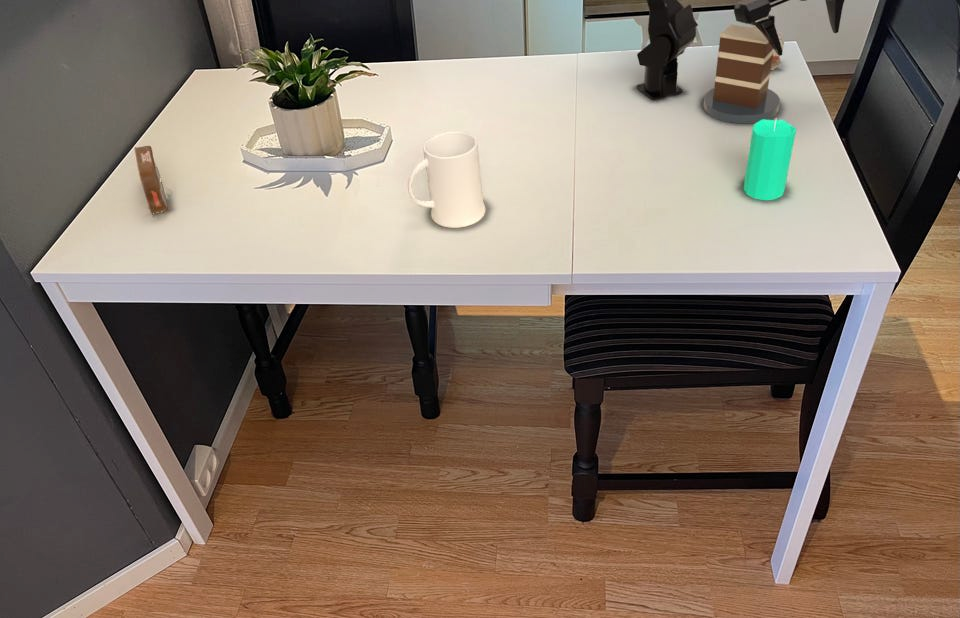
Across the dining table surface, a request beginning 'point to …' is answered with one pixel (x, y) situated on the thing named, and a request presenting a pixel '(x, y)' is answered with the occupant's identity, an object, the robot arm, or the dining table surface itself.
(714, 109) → the plate
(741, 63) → the cake slice
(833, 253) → the dining table surface
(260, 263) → the dining table surface
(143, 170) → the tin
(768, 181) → the candle
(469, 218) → the mug
